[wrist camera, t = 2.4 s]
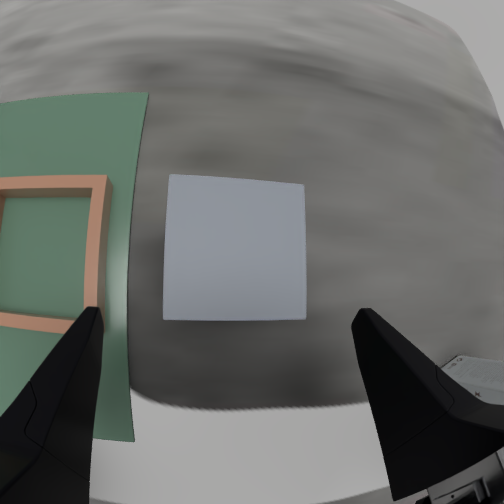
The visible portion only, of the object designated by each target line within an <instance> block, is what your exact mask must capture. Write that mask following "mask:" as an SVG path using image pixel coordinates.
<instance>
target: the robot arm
mask: <svg viewBox="0 0 504 504" xmlns="http://www.w3.org/2000/svg"><path fill="white" fill-rule="evenodd" d="M351 329H352V334H353V339H354V344H355V349H356V355H357V360H358V364H359V368H360V371H361V375H362V378H363V382H364V385H365V389H366V392H367V396H368V399H369V403H370V407H371V410H372V414H373V418H374V421H375V425H376V429H377V433H378V437H379V441H380V445H381V448H382V453H383V456H384V462H385V466H386V470H387V475H388V479H389V484H390V489H391V493H392V498H393V501H397V500H400V499H402V498H405V497H408V496H410V495H413V494H415V493H417V492H420V491H422V490H424V489H427V492H428V495H427V496H425V497H423V498H421V499H419V500H417V501H416V503H415V504H504V405H499V404H490V403H486V402H484V401H482V400H480V399H478V398H477V397H476V396H474V395H473V394H472V393H470V392H469V391H468V390H466V389H465V388H464V387H462V386H461V385H460V384H459V383H457V382H456V381H455V380H454V379H452V378H451V377H450V376H449V375H447V374H446V373H445V372H444V371H443V370H442V369H441V368H439V367H438V366H437V365H435V363H434V362H433V361H431V360H430V359H429V358H428V357H427V356H426V355H425V354H424V353H422V352H421V351H420V350H419V349H418V348H417V347H416V346H414V345H413V344H412V343H411V342H410V341H409V340H407V339H406V338H405V337H404V336H403V335H402V334H401V333H399V332H398V331H397V330H396V329H395V328H394V327H392V326H391V325H390V324H389V323H388V322H387V321H385V320H384V319H383V318H382V317H381V316H380V315H378V314H377V313H376V312H375V311H374V310H372V309H371V308H361V309H360V310H359V311H358V313H357V315H356V316H355V318H354V320H353V322H352V325H351ZM103 337H104V322H103V318H102V314H101V310H100V308H99V307H97V306H87V307H86V308H85V309H84V310H83V312H82V313H81V314H80V315H79V316H78V318H77V319H76V320H75V321H74V323H73V324H72V325H71V326H70V327H69V329H68V330H67V331H66V332H65V334H64V335H63V336H62V337H61V339H60V340H59V341H58V342H57V344H56V345H55V346H54V348H53V349H52V350H51V351H50V353H49V354H48V355H47V357H46V358H45V359H44V361H43V362H42V363H41V365H40V366H39V367H38V369H37V370H36V371H35V373H34V374H33V375H32V377H31V378H30V381H28V382H27V383H26V385H25V386H24V388H23V389H22V390H21V392H20V393H19V394H18V396H17V397H16V398H15V400H14V401H13V402H12V403H11V404H10V406H9V407H8V408H7V409H6V410H5V412H4V413H3V414H2V415H1V416H0V504H89V488H90V487H89V486H90V482H89V481H90V466H91V452H92V440H93V430H94V421H95V412H96V405H97V397H98V390H99V384H100V377H101V369H102V352H103Z"/></svg>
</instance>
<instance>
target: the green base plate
mask: <svg viewBox="0 0 504 504" xmlns="http://www.w3.org/2000/svg"><path fill="white" fill-rule="evenodd" d="M148 97H149V93H94V94H77V95H64V96H53V97H43V98H35V99H27V100H20V101H14V102H7V103H1V104H0V416H1V415H2V414H3V413H4V412H5V410H6V409H7V408H8V407H9V406H10V404H11V403H12V402H13V401H14V400H15V398H16V397H17V396H18V394H19V393H20V392H21V390H22V389H23V388H24V386H25V385H26V383H27V382H28V381H30V378H31V377H32V375H33V374H34V373H35V371H36V370H37V369H38V367H39V366H40V365H41V363H42V362H43V361H44V359H45V358H46V357H47V355H48V354H49V353H50V351H51V350H52V349H53V348H54V346H55V345H56V344H57V342H58V341H59V340H60V339H61V337H62V336H63V335H64V334H65V332H66V331H67V330H68V329H69V327H70V326H71V325H72V324H73V323H74V321H75V320H76V319H77V318H78V316H79V315H80V314H81V313H82V312H83V310H84V309H85V308H86V307H87V306H97V307H99V308H100V310H101V314H102V318H103V322H104V337H103V352H102V369H101V377H100V384H99V390H98V397H97V405H96V412H95V421H94V430H93V438H96V439H104V440H115V441H125V442H135V438H134V429H133V421H132V409H131V397H130V383H129V365H128V333H127V296H128V263H129V244H130V230H131V217H132V206H133V196H134V187H135V178H136V170H137V163H138V156H139V149H140V142H141V136H142V130H143V124H144V118H145V112H146V107H147V102H148Z"/></svg>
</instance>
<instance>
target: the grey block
mask: <svg viewBox="0 0 504 504" xmlns="http://www.w3.org/2000/svg"><path fill="white" fill-rule="evenodd" d="M293 319H306V229H305V198H304V185H301V184H292V183H283V182H273V181H262V180H251V179H239V178H226V177H212V176H195V175H176V174H170V175H169V187H168V199H167V214H166V230H165V250H164V280H163V320H211V321H244V320H293Z"/></svg>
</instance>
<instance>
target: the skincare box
mask: <svg viewBox="0 0 504 504" xmlns="http://www.w3.org/2000/svg"><path fill="white" fill-rule="evenodd" d="M441 369H442V370H443V371H444V372H445V373H446V374H447V375H449V376H450V377H451V378H452V379H454V380H455V381H456V382H457V383H459V384H460V385H461V386H462V387H464V388H465V389H466V390H468V391H469V392H470V393H472V394H473V395H474V396H476V397H477V398H478V399H480V400H482V401H484V402H486V403H490V404H499V405H504V361H498V360H491V359H483V358H475V357H469V356H462V355H459V356H457V357H456V358H455V359H453V360H452V361H450V362H449V363H448V364H446V365H445V366H444V367H442V368H441Z"/></svg>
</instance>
